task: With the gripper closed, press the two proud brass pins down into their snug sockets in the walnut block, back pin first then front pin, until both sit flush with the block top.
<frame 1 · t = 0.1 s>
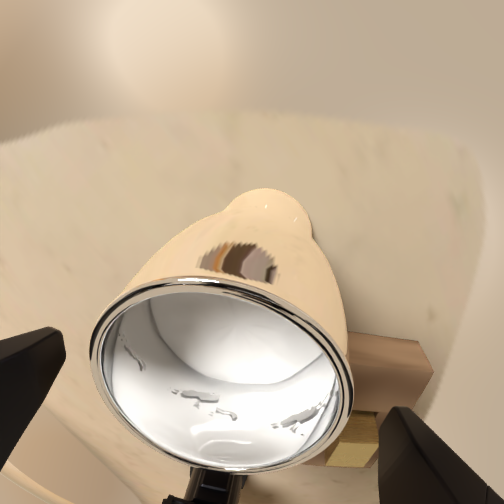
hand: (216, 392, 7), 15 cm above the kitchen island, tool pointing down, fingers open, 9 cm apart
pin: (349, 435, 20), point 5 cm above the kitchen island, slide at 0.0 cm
walnut block: (303, 386, 25), on the kitchen island
beer glass: (265, 233, 21), on the kitchen island
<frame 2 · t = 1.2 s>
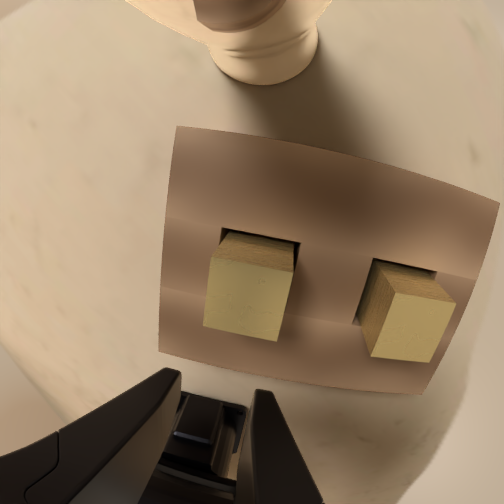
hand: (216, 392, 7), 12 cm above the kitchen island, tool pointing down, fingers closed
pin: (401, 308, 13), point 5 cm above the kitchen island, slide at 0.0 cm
walnut block: (321, 257, 18), on the kitchen island
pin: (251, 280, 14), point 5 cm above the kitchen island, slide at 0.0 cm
beer glass: (262, 38, 15), on the kitchen island
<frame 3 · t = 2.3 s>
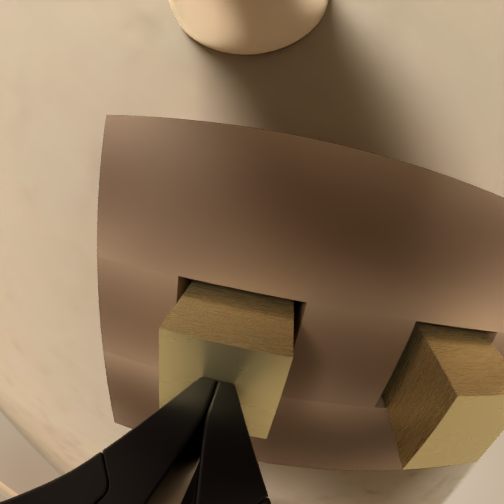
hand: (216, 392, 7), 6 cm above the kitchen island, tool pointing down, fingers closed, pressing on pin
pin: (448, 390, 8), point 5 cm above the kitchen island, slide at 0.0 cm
walnut block: (333, 303, 13), on the kitchen island
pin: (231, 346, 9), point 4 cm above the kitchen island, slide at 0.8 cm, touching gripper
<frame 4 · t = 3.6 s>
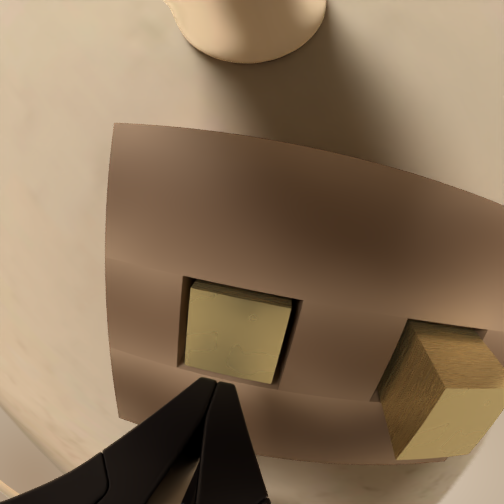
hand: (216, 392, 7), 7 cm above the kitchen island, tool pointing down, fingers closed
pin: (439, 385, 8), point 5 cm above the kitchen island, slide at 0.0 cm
walnut block: (329, 302, 13), on the kitchen island
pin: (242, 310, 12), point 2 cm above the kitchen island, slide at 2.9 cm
beer glass: (250, 2, 10), on the kitchen island
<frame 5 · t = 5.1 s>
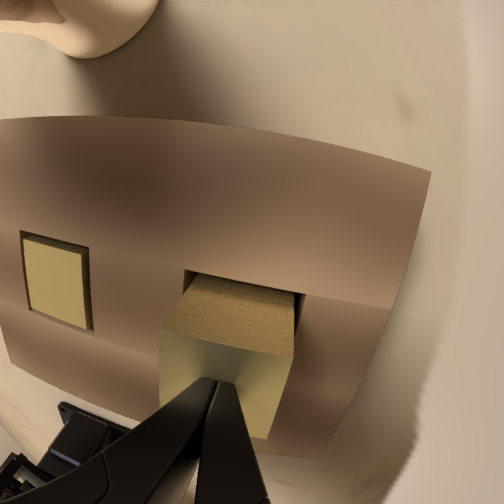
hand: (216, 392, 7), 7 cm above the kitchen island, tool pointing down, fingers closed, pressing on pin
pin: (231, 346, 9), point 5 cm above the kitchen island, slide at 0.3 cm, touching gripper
walnut block: (172, 265, 14), on the kitchen island
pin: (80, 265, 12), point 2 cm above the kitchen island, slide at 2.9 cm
beer glass: (107, 5, 10), on the kitchen island
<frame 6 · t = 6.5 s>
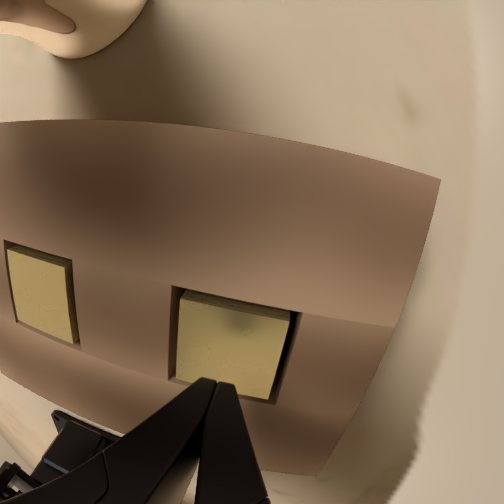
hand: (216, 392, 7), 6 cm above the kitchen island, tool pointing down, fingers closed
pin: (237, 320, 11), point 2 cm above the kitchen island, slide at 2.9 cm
walnut block: (163, 276, 13), on the kitchen island
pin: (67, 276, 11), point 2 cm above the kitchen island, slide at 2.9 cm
beer glass: (95, 2, 10), on the kitchen island
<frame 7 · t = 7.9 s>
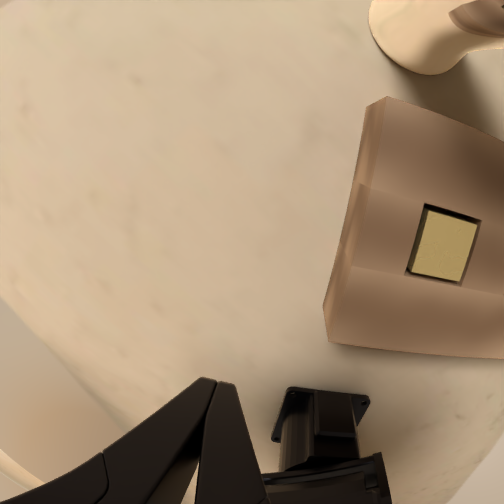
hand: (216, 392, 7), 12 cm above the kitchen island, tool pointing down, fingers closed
walnut block: (461, 239, 17), on the kitchen island
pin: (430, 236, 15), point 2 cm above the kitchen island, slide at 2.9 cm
beer glass: (414, 30, 13), on the kitchen island
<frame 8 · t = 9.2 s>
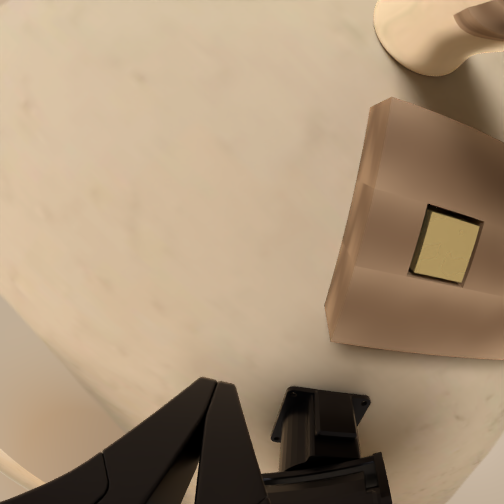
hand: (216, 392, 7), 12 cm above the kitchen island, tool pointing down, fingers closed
walnut block: (463, 240, 17), on the kitchen island
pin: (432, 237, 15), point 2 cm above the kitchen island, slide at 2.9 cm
beer glass: (419, 32, 13), on the kitchen island
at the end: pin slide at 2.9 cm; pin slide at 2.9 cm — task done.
